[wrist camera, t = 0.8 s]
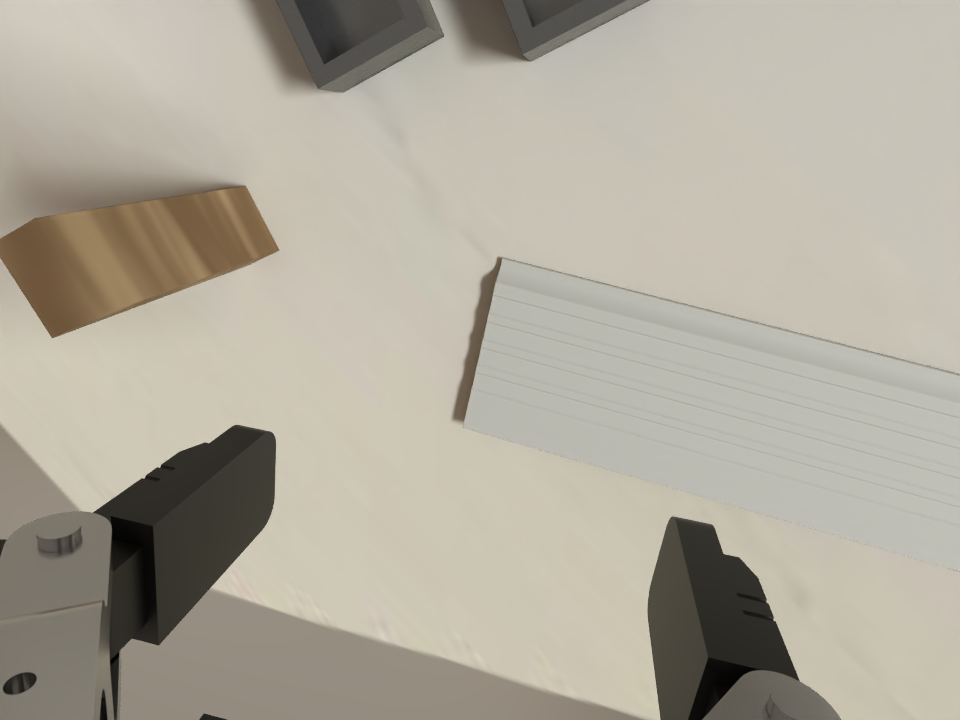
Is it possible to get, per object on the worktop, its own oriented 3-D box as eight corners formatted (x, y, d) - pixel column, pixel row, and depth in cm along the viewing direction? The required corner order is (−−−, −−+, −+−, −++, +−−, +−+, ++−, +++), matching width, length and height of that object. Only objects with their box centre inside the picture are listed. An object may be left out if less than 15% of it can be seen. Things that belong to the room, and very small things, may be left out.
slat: (245, 185, 35) (35, 218, 22) (279, 250, 36) (96, 316, 23) (212, 203, 36) (-9, 244, 23) (246, 265, 37) (52, 338, 24)
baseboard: (511, 229, 34) (468, 417, 38) (502, 237, 31) (457, 438, 36) (1111, 379, 30) (985, 565, 35) (1159, 403, 28) (1015, 601, 32)
